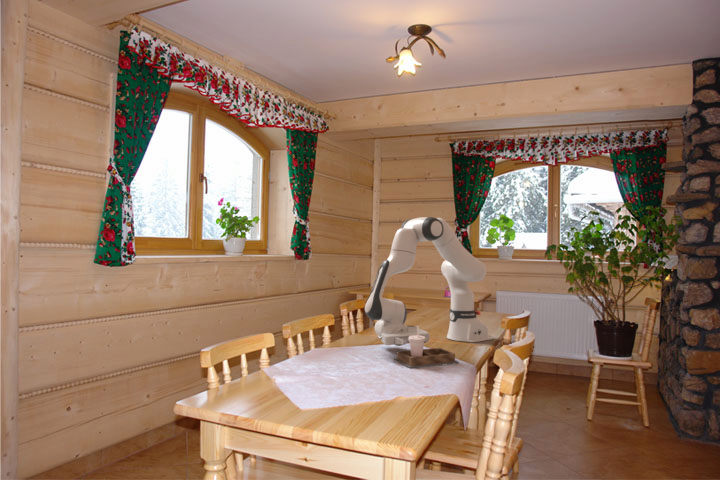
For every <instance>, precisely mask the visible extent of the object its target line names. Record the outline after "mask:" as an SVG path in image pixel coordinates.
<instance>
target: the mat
mask: <svg viewBox="0 0 720 480" xmlns="http://www.w3.org/2000/svg"><path fill="white" fill-rule="evenodd" d="M393 361H395V362H397V363H399V364H400V365H402V366H405V367H406V368H408V369H416V368H417V369H418V368H425V367H427V368H428V367H434V366H435V367H436V365H438V366H444V365H443V364H447V365H454V364H453V363H456V364H460V362H459V361H458V360H455V361H454V362H444V363H435V364H425V365H415V366H410V365H408V364H406V363H404V362H402V361H400V360H398V359H397V357H396V358H395V357H394V358H393Z"/></svg>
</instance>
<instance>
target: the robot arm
mask: <svg viewBox="0 0 720 480" xmlns="http://www.w3.org/2000/svg"><path fill="white" fill-rule="evenodd" d="M393 237H394V238H393V240H392V243H391V248H390V252H389V255H388V257H387V259H386V260H383V261H382V262H381V264H380V266H379V268H378V271H377V273H376V275H375V276H376V277H375V279H374V282H373V286H372V288H371V290H370V294H369V295H368V298H367V299H366V302H365V304H364V314H365V315H366V316H367V317H368V319H369V320H372V321H376V322H375V324H374V332H375V333H376V336H377V339H378V340H380V341H381V343H382V344H384V345H386V346H392V345H395V346H397V347H401V346H403V345H405V346H406V345H407V344H410V342H409V340H408V339H409V336H411V335H417V326H418V325H406V324H405V323H406V320H407V316H408V310H407V307H406V304H405V303H404V302H403V301H401V300H398V299H389V298H386V297H383V294H384V292H385V287H386V285H387V282H388V280H389V278H390V277H392V276H394V275H396V274H401V273H405V272H407V271H409V270H410V269H412V267H413V266H414V264H415V261H416V254H417V246H418V244H419V243H422V242H429V241H430V242H432V244H433V245H434V247H435V249H436V250H437V252H438V253H439V255H440V256H441V258H442V259H443V261H442V263H441V266H440V267H441V268H440V270H441V274H442V275H443V277H444V278H445V279H446V281H447V282H446V283H447V284H448V288H449V291H450V292H449V293H450V308H449V327H448V331H447V334H446V338H447V339H448V340H452V341H457V342H466V343H467V342H468V343H479V342H483V341H489V340H493V339H494V338H493V336H492V335H489V330H488V327H487V325H486V324H485V323H484V322H483V321H481V320H480V319H479V318H478V316H481V314H482V311H481V310H475V294H474V292H473V290H472V289H471V288H470V287H469V284H468V283H476V282H481V281H483V280H484V279H485V277H486V276H487V266H486V264H485V263H484V262H483V261H481V260H479V259H478V258H476V257H475V256H473V254H472V253H470V251H469V250H467V248H465V246H464V245H463V243H461V241H460V240H459V237H458V236H457V235H456V233H455V232H454V230H453V229H452V227H451V226H450V224H449V223H448V222H447V221H446V220H445V219H444V218H441V217H434V216H428V217H426V216H424V217H423V216H422V217H421V216H419V217H416V218H410V219H407V220H405V221H404V222H403V223H402V224H401V226H400V228H399V229H397V231H396V232H395V234H394V236H393ZM419 335H421V336H424V337H425V341H424V344H426V343H428V342H429V341H430V333H429V332H428V331H427V330H424V329H421V328H419Z"/></svg>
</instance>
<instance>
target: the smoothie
mask: <svg viewBox="0 0 720 480" xmlns="http://www.w3.org/2000/svg"><path fill="white" fill-rule="evenodd" d="M416 326H417V335H411V336H409V339H408V340H409V342H410V343H409V348H410V350H411V357H419V356H422V354H423V349H424V345H425V343H424V341H425V337H424V336H421V335H419V329H420V326H419V325H416Z"/></svg>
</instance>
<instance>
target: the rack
mask: <svg viewBox="0 0 720 480" xmlns="http://www.w3.org/2000/svg"><path fill="white" fill-rule="evenodd" d="M396 354H397V355H396V358H397V359H398V360H400V361H402V362H404V363H406V364H408V365H410V366H415V365H425V364H435V363H444V362H454V361H456V353H455V352H451V351H450V350H447V349H444V348H443V347H442V348H441V347H434V348H433V347H431V348H423V354H422V356H419V357H411V350H402V351H401V350H400V351H397V353H396Z"/></svg>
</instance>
